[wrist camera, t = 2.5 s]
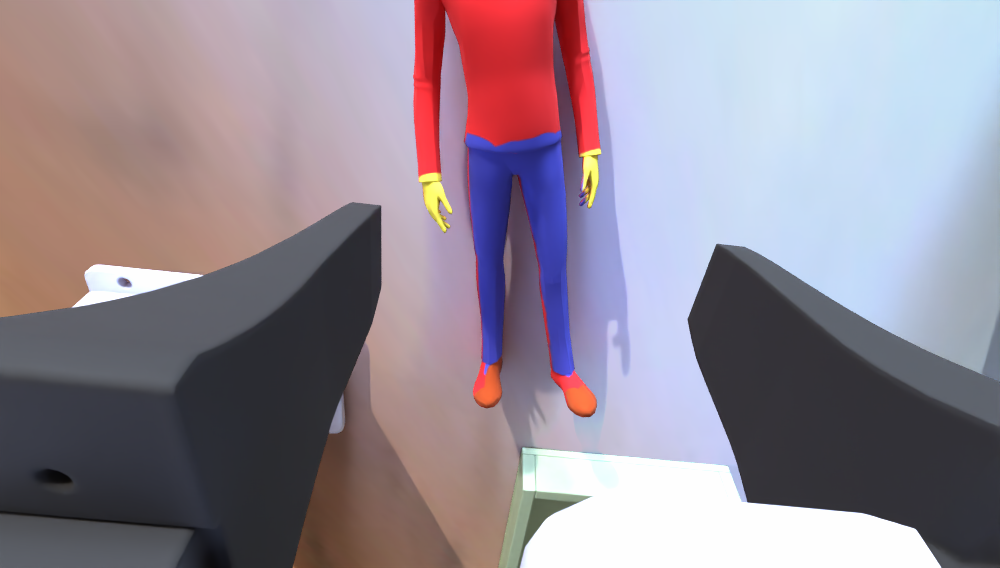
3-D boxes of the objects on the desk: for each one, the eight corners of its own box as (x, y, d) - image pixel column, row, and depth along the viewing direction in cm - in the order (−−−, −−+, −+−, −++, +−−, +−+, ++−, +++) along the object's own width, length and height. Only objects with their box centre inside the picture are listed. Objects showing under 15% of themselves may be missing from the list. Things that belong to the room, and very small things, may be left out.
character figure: (468, 451, 20) (355, -403, 9) (442, 372, 23) (339, -306, 12) (613, 410, 21) (678, -383, 10) (568, 341, 24) (578, -301, 13)
